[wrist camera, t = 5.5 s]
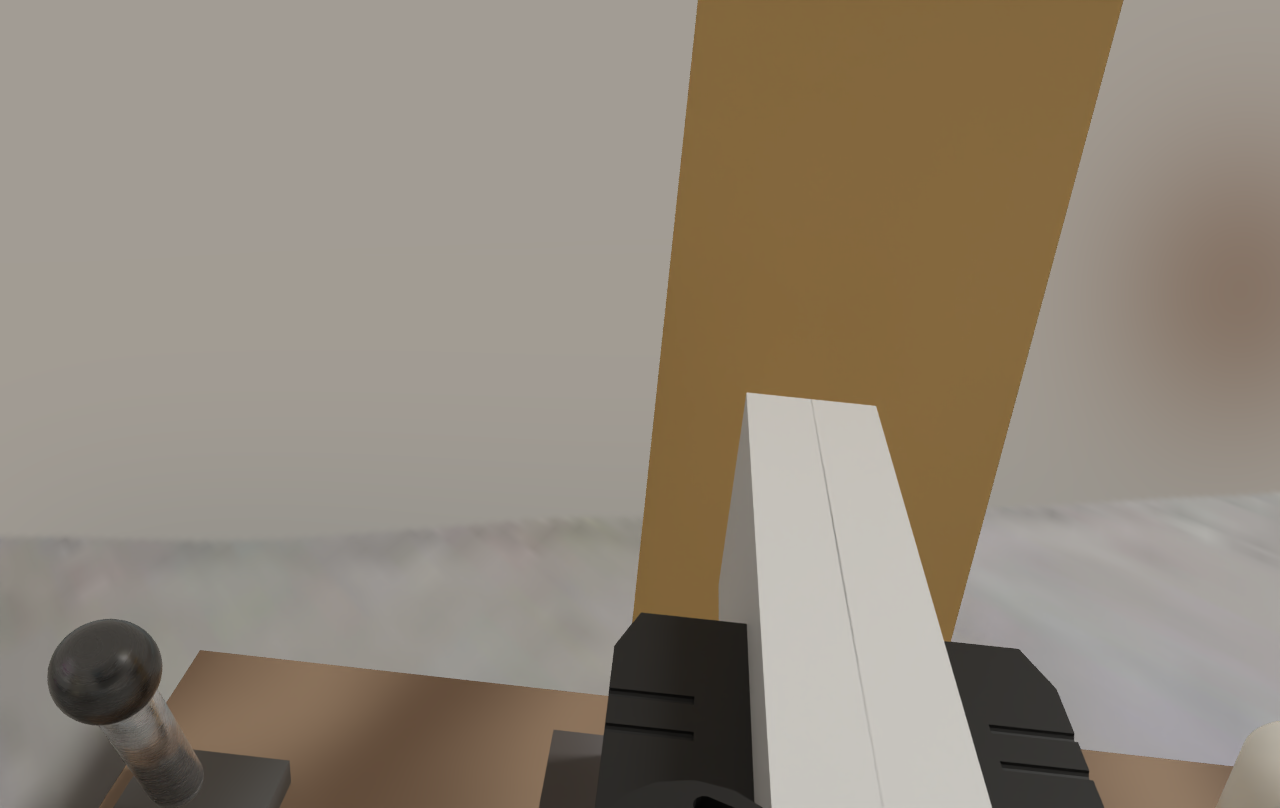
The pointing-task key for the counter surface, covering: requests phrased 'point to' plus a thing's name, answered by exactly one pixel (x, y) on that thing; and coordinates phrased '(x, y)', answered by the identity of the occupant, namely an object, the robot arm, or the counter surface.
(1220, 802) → the push button
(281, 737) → the console
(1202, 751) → the counter surface
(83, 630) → the toggle lever
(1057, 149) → the tan tall block
